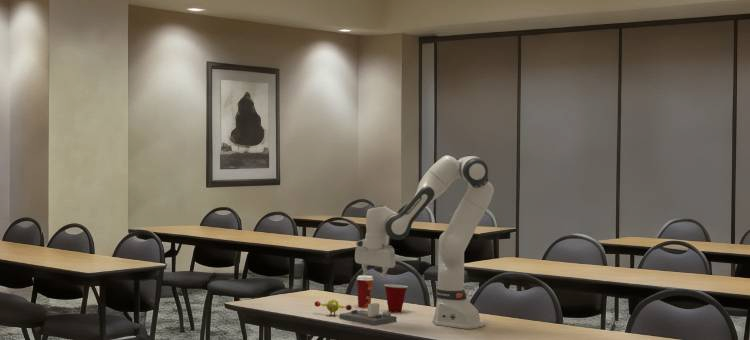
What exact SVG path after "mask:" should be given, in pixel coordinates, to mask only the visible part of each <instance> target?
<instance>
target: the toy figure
mask: <svg viewBox="0 0 750 340" xmlns="http://www.w3.org/2000/svg"><path fill="white" fill-rule="evenodd" d="M314 306H315V307H317V308H318V307H320V306H322V307H326V308H327V310H328V312H329V316H335V317H336V312H337V311H338V310H339V309H344V308H345V310H347V311H352V310H353V309H352V308H353V307H352V305H351V304H347V305H345V306H344V305H340V304H339V302H338V301H337V300H336V299H331V300H329V301H327V302H325V303H321V302H320V301H319V300H316V301H315V302H314Z"/></svg>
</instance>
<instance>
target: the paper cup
mask: <svg viewBox="0 0 750 340" xmlns="http://www.w3.org/2000/svg"><path fill="white" fill-rule="evenodd" d="M373 277H374V276H373V275H364V274H362V275H358V276H357V277H356V280H357V281H356V282H357V284H356V285H357V307H358V308H361V309H362V308H363V309H365V308H367V309H368V304H372V303H371V302H372V291H373V282H374V278H373Z"/></svg>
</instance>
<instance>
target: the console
mask: <svg viewBox="0 0 750 340" xmlns="http://www.w3.org/2000/svg"><path fill="white" fill-rule="evenodd" d="M339 319H340V320H345V321H349V322H355V323H360V324H363V325H364V324H365V325H368V326H369V325H370V326H379V325H385V324H390V323H395V322H397V316H395V315H392V312H389V311H382V313H379V315H376V316H373V317H370V316H368V310H363V309H361V310H358V309H352V310H350V311H349V312H343V313H339Z"/></svg>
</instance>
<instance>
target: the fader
mask: <svg viewBox="0 0 750 340" xmlns="http://www.w3.org/2000/svg"><path fill="white" fill-rule="evenodd" d="M367 311H368V316H370V317H373V316H376V315H379V314H380V303H378V302H373V303H371V304H368V308H367Z"/></svg>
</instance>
